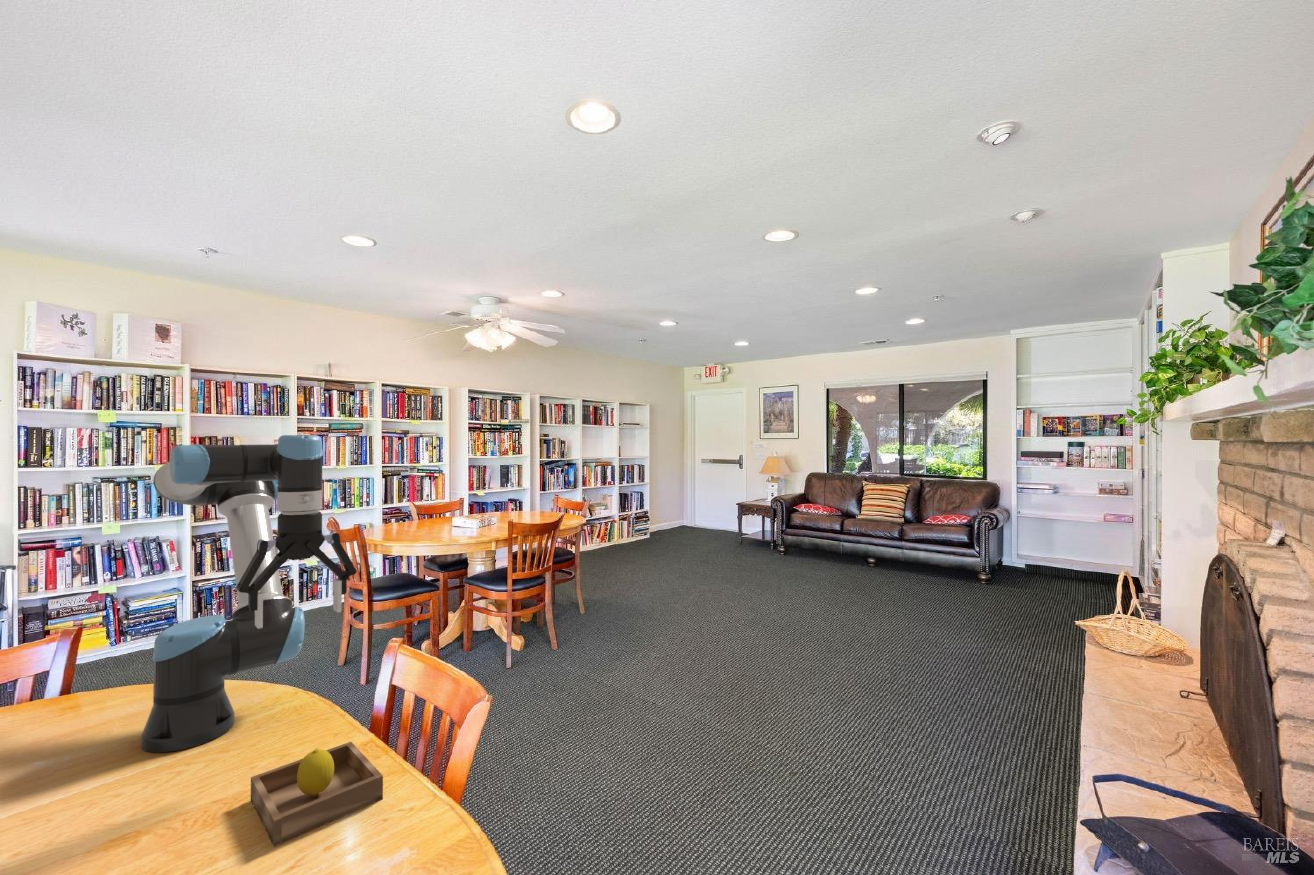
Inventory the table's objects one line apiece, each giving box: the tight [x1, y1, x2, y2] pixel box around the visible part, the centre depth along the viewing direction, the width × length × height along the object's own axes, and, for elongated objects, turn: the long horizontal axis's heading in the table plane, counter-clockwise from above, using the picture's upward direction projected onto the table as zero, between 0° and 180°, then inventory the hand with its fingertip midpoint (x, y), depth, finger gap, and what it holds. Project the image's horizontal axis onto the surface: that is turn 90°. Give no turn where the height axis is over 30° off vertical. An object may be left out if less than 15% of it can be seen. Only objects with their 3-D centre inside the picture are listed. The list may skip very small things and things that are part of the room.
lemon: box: [297, 748, 334, 796], centre depth 97 cm, size 6×6×8 cm
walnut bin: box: [250, 741, 384, 848], centre depth 97 cm, size 16×16×4 cm
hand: (299, 618), depth 112 cm, fingers open, 13 cm apart
